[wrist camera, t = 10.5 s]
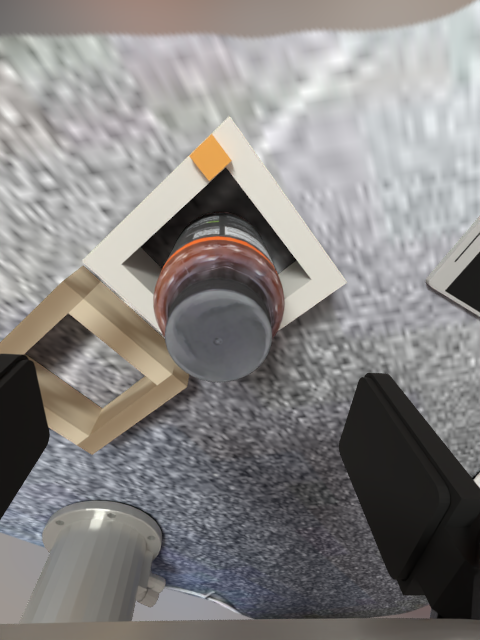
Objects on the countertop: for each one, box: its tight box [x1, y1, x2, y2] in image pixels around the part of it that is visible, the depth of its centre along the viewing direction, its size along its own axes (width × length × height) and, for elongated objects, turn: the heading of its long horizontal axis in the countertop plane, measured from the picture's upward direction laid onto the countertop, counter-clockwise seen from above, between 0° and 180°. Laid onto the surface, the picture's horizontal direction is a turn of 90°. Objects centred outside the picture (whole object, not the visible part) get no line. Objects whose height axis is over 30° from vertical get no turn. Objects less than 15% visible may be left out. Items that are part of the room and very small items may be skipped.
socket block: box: [82, 116, 347, 333], centre depth 19 cm, size 11×11×5 cm
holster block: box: [0, 266, 189, 455], centre depth 24 cm, size 11×11×3 cm
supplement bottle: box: [153, 212, 285, 382], centre depth 17 cm, size 6×6×11 cm
